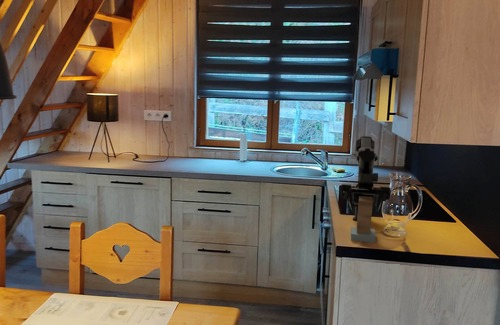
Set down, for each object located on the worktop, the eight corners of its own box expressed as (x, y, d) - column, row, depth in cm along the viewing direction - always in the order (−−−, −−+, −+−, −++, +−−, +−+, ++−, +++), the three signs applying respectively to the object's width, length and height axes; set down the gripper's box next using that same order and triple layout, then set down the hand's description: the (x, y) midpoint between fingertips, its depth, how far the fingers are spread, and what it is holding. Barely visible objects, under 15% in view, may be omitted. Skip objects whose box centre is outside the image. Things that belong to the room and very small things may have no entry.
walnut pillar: (356, 227, 176) (359, 196, 173) (369, 229, 175) (372, 197, 172) (356, 232, 171) (359, 200, 168) (370, 233, 170) (372, 201, 167)
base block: (350, 234, 178) (351, 226, 178) (373, 236, 177) (374, 228, 176) (350, 241, 170) (351, 234, 169) (375, 243, 168) (375, 236, 167)
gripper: (342, 163, 174) (339, 198, 165) (392, 166, 170) (392, 201, 161) (341, 179, 183) (339, 212, 174) (389, 182, 179) (389, 216, 170)
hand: (364, 210), depth 170 cm, fingers open, 9 cm apart
